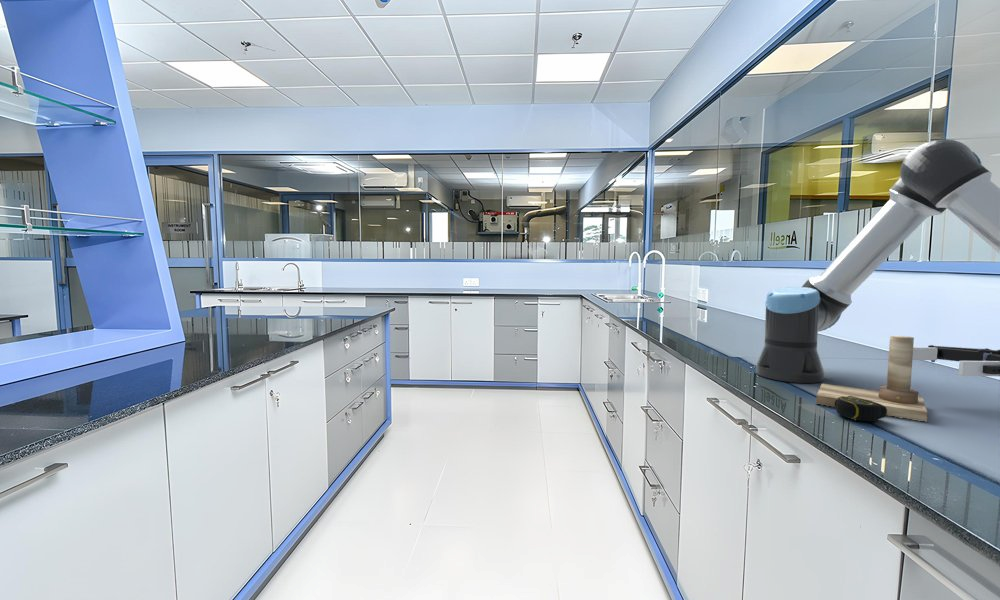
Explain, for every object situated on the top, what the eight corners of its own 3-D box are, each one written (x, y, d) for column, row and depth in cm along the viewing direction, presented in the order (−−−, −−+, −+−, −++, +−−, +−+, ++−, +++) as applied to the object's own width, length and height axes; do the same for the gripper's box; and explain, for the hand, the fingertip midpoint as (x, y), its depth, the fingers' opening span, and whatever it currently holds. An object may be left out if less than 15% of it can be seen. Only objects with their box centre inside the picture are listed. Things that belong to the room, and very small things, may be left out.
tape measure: (888, 422, 83) (890, 403, 83) (863, 426, 81) (864, 407, 81) (850, 411, 90) (851, 393, 89) (826, 414, 88) (827, 396, 87)
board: (821, 391, 103) (821, 383, 103) (921, 406, 92) (922, 397, 92) (816, 404, 94) (816, 395, 93) (926, 422, 83) (927, 412, 82)
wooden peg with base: (878, 393, 94) (882, 333, 93) (916, 398, 91) (921, 336, 90) (878, 400, 89) (882, 337, 88) (919, 406, 85) (923, 341, 84)
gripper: (1129, 399, 74) (989, 396, 77) (984, 365, 99) (882, 364, 101) (1133, 356, 74) (992, 354, 76) (987, 333, 98) (884, 332, 101)
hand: (929, 360), depth 89 cm, fingers open, 13 cm apart
